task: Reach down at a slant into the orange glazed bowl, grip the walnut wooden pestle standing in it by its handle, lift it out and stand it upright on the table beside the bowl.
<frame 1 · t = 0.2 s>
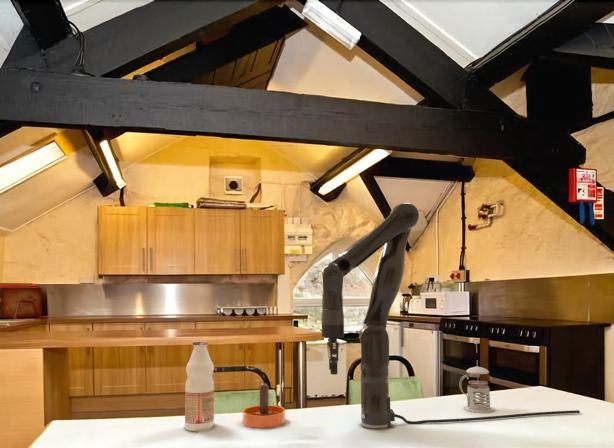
hand: (333, 372, 176), 17 cm above the table, tool pointing down, fingers open, 8 cm apart
french press: (476, 410, 194), on the table
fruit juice: (199, 428, 173), on the table
bowl: (264, 424, 176), on the table
pestle: (264, 421, 177), point 1 cm above the table, touching bowl
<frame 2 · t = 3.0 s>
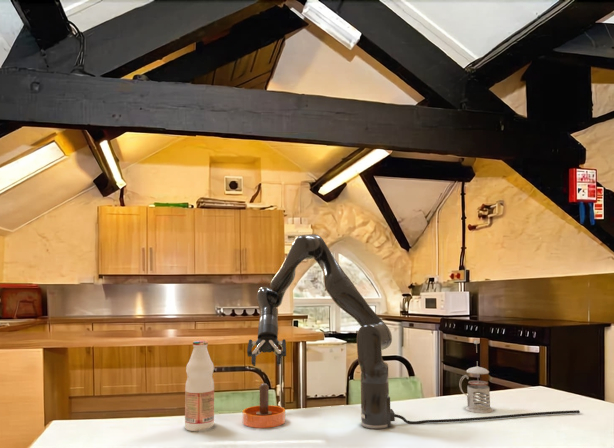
hand: (266, 364, 189), 18 cm above the table, tool tilted 45°, fingers open, 8 cm apart
nothing on the table moved.
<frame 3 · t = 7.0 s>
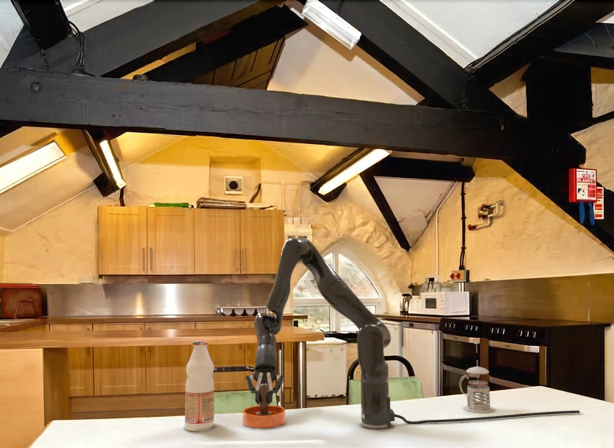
hand: (263, 402, 175), 7 cm above the table, tool tilted 45°, fingers closed on pestle, 3 cm apart
pestle: (264, 421, 177), point 1 cm above the table, touching bowl, gripper
everything else where it was.
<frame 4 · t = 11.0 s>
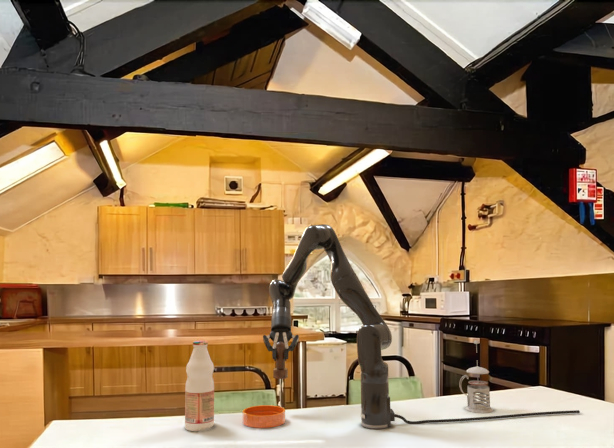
hand: (280, 359, 187), 20 cm above the table, tool tilted 45°, fingers closed on pestle, 3 cm apart
pestle: (280, 377, 188), point 13 cm above the table, touching gripper
everything else where it was.
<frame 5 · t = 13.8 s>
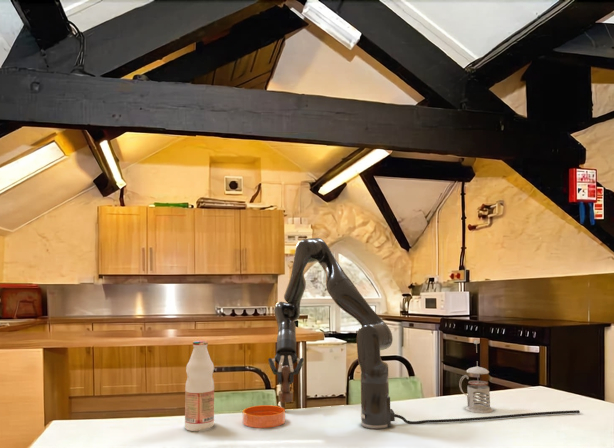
hand: (285, 382, 190), 11 cm above the table, tool tilted 45°, fingers closed on pestle, 3 cm apart
pestle: (285, 400, 191), point 4 cm above the table, touching gripper
everything else where it was.
when the fingers open (7 cm above the table, at t = 15.4 s): pestle stays where it is, on the table.
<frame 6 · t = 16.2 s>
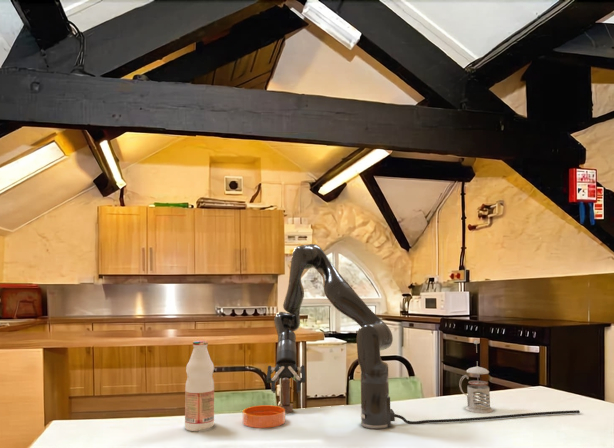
hand: (285, 391, 190), 8 cm above the table, tool tilted 45°, fingers open, 8 cm apart
pestle: (285, 413, 191), on the table
everything else where it was.
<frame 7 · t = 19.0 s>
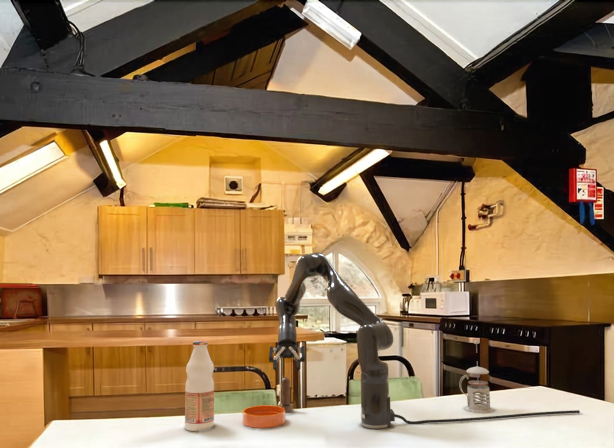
hand: (286, 369, 203), 13 cm above the table, tool tilted 45°, fingers open, 8 cm apart
nothing on the table moved.
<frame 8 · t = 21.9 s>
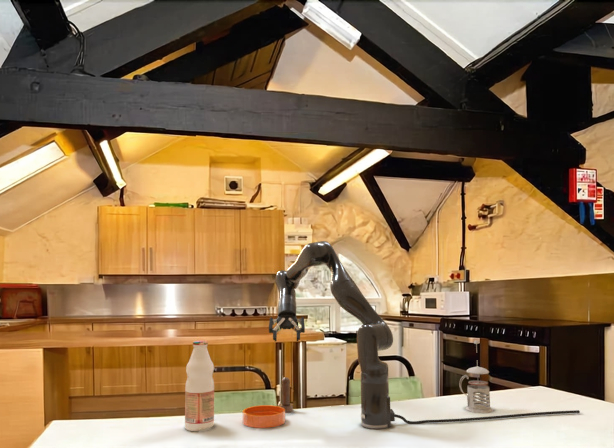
hand: (286, 340, 204), 25 cm above the table, tool tilted 45°, fingers open, 8 cm apart
nothing on the table moved.
at the end: pestle inside the target area (0.1 cm from its centre), on the table; pestle tilted 0°; the gripper is holding nothing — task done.
